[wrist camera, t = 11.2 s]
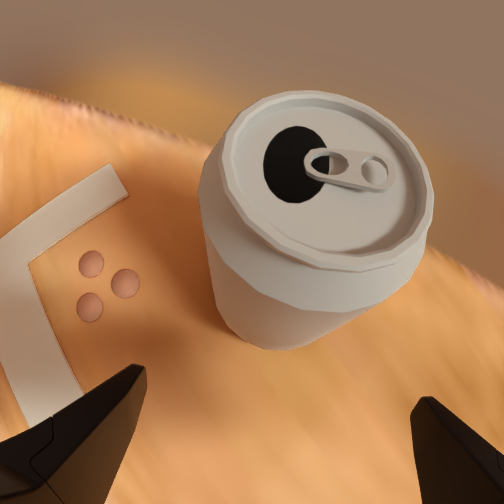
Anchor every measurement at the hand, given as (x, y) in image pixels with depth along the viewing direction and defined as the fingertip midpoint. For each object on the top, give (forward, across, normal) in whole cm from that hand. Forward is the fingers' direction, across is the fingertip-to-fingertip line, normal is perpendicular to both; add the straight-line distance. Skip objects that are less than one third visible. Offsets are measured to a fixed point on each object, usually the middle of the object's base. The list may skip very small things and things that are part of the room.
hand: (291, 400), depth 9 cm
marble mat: (+8, +13, +3) cm, 16 cm away
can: (+10, 0, +2) cm, 11 cm away
